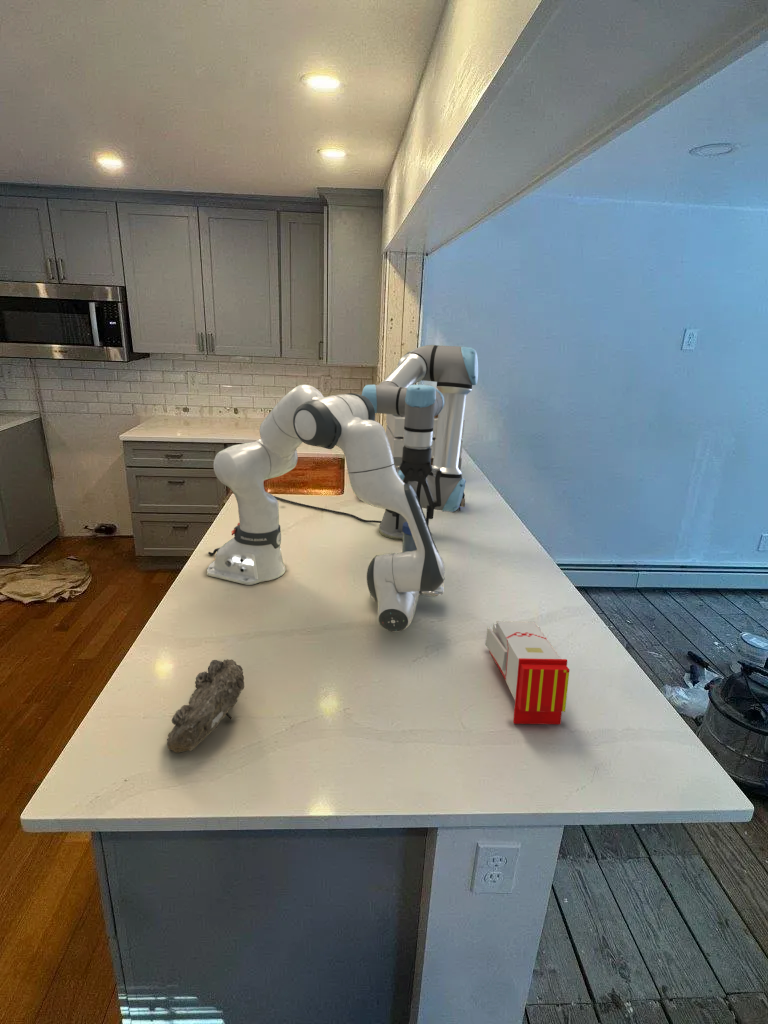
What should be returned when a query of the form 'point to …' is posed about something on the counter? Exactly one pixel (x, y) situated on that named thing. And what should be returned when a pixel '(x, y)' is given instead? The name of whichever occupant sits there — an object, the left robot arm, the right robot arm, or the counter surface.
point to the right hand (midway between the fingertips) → (411, 528)
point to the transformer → (397, 431)
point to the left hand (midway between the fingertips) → (409, 568)
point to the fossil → (206, 705)
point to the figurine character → (462, 502)
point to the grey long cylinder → (408, 543)
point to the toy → (530, 671)
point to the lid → (406, 528)
